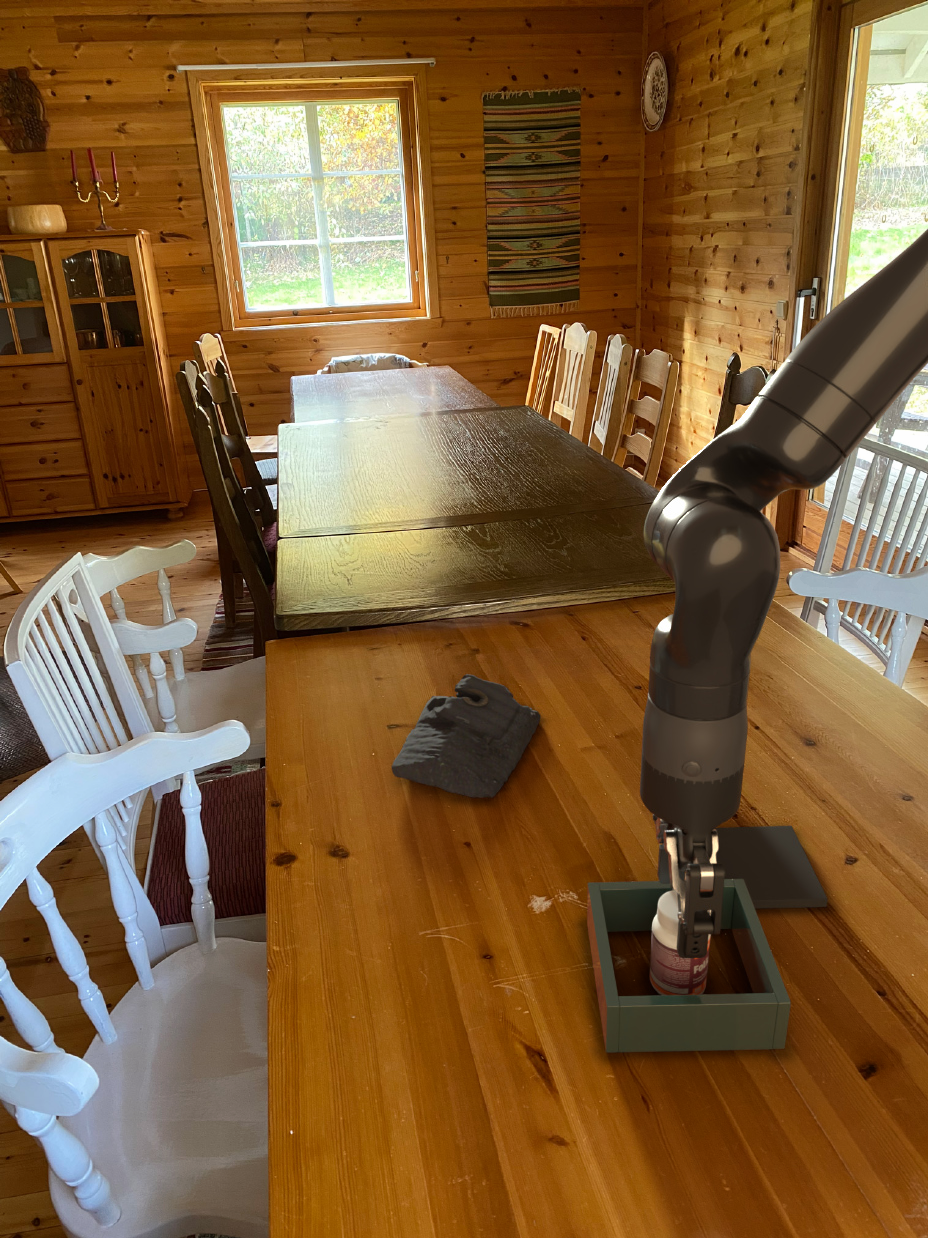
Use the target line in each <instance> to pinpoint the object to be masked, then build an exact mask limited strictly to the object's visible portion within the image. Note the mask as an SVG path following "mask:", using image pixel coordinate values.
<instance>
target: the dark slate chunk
mask: <svg viewBox="0 0 928 1238" xmlns="http://www.w3.org/2000/svg"><path fill="white" fill-rule="evenodd" d="M454 692H455V695H456V696H452V695H451V696H446V695H432V696H431V698H430V699H429V700H427V702H426V703H425V706H424V708H423V709H422V711H421V713H420V716H419V717H418V720H417V722H416V724H415V727H414V728H413V729H410V732H409V734H407V736H406V738H405V742H404V743H403V745H402V747H401V749H400V752H399V753H398V754H397V756H396V757H395V759H393V762H392V765H391V771H392V775H394V777H396V778H399V779H404V780H408V781H411V782H413V783H417V784H422V785H426V786H429V787H436V788H439V789H442V791H444V792H448V793H451V794H457V795H461V796H465V797H468V798H479V799H482V798H483V799H484V798H489V799H490V798H494V797H495V796H496V795H497V793H498V792H500V790H501V789H502V788H503V787H504V783H506V782H507V781H508V779H509V777H510V776H511V774H512V773H513V771H514V770H515V769H516V767H517V764H518V763H519V762H520V760H521V759H522V755H523V754H524V752H525V750H526V749H527V747H528V745H529V744H530V742H531V740H532V738H533V737H532V736H533V735H534V734H535V733H536V730H537V728H538V725H539V724H540V721H541V713H540V712H539V711H537V710H533V708H532V707H530V706H529V705H521V704H520V703H519V702H518V701H517V700H516V699H515V698H514V695H513V693H512V692H511V691H510V689H509V688H508V687H507V686H506V685H503V684H502V683H497V682H494V681H489V680H486V679H485V680H484V679H482V678H480V677H477V676H476V675H473V674H469V673H466V674H464V675H463V676H462V677H461V679H460V680H459V681H458V683H456V684H455V685H454Z"/></svg>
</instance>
